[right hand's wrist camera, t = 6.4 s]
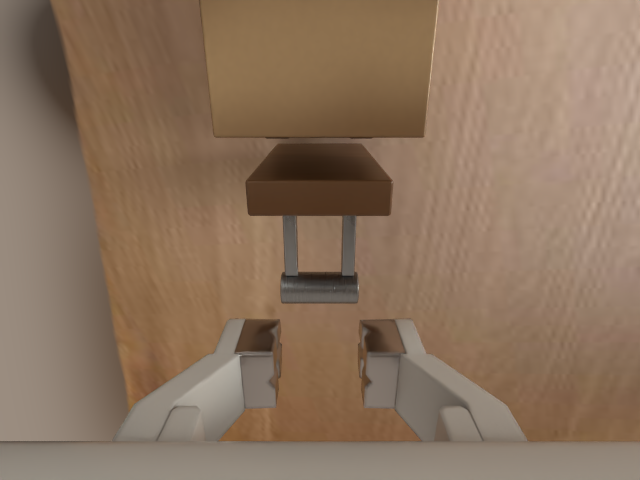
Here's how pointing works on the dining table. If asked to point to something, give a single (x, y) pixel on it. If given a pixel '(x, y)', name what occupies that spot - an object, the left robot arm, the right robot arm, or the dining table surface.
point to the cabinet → (319, 67)
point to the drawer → (319, 208)
